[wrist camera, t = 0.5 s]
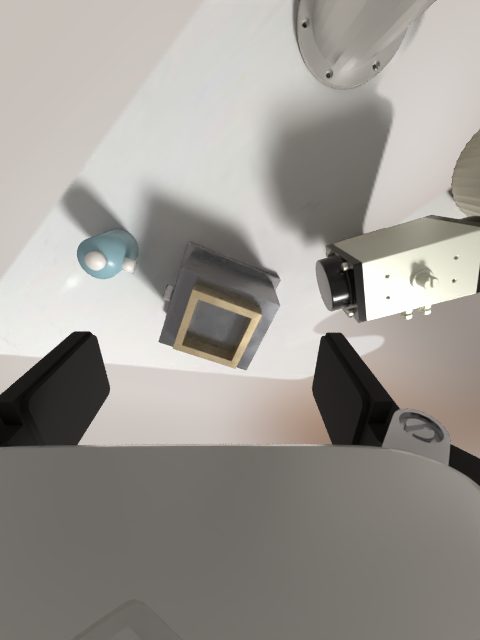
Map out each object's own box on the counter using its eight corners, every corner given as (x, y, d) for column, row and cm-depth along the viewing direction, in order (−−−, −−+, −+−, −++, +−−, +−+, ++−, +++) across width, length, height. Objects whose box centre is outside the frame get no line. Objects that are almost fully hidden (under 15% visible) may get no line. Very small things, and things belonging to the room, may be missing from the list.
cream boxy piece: (308, 289, 45) (346, 345, 29) (299, 241, 41) (337, 276, 26) (416, 259, 43) (520, 302, 27) (417, 205, 39) (538, 220, 23)
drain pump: (105, 223, 40) (74, 232, 32) (150, 240, 41) (130, 253, 34) (100, 257, 42) (70, 273, 35) (143, 272, 44) (122, 291, 36)
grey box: (185, 240, 41) (166, 260, 30) (279, 277, 44) (293, 308, 33) (164, 313, 47) (141, 352, 36) (247, 342, 50) (250, 386, 39)
